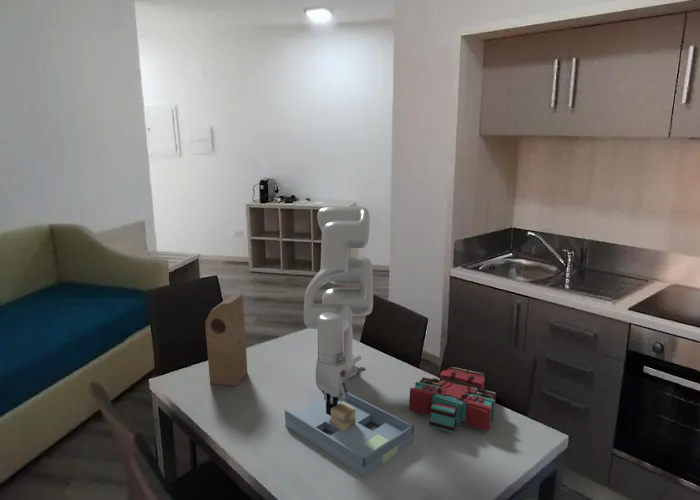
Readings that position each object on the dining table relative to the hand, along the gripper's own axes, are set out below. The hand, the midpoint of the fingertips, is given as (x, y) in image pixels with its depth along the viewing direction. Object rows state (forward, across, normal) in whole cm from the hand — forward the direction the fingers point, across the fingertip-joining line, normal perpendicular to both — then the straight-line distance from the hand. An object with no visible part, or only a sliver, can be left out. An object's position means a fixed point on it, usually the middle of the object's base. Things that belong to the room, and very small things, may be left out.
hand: (332, 412), depth 145 cm
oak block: (+1, -5, 0) cm, 5 cm away
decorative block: (+4, +47, +6) cm, 47 cm away
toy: (+4, -21, -32) cm, 39 cm away
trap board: (+4, -6, 0) cm, 7 cm away
